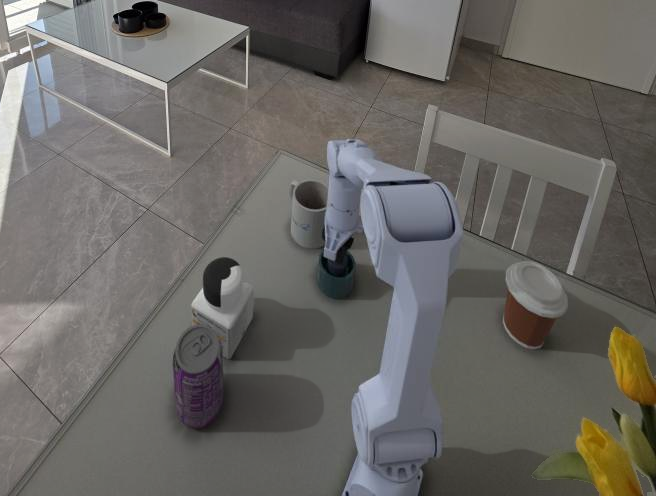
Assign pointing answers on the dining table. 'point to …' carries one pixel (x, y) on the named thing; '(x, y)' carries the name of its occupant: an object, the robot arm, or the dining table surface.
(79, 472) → the dining table surface
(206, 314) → the container
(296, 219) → the mug
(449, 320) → the dining table surface
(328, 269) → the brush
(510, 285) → the coffee cup
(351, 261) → the dark teal cup
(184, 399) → the beverage can
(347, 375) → the dining table surface
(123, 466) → the dining table surface
